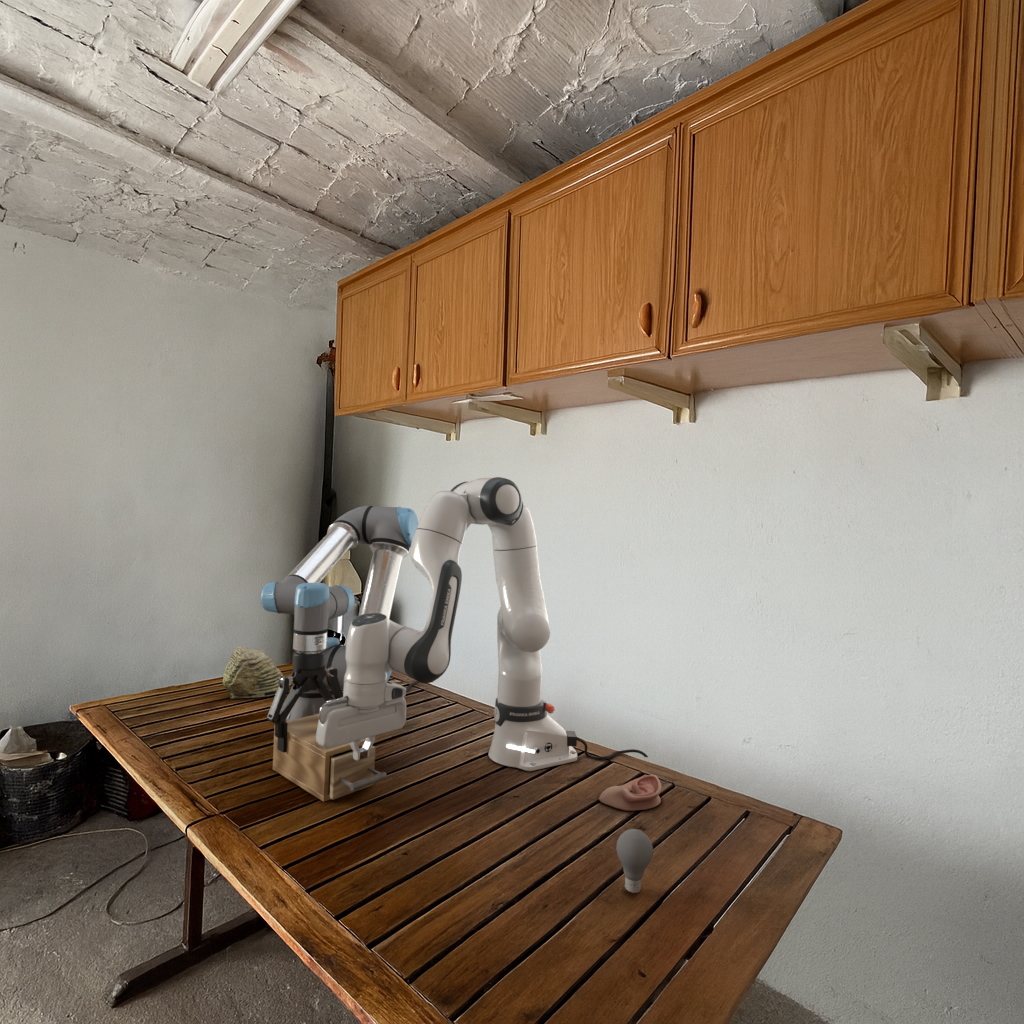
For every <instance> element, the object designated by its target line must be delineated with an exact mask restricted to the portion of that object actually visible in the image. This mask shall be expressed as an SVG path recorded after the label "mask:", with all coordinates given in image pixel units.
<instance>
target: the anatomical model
mask: <svg viewBox="0 0 1024 1024" xmlns="http://www.w3.org/2000/svg"><path fill="white" fill-rule="evenodd" d="M662 788H663V787H662V783H661V781H660V779H659V777H658V776H656V775H654V774H648V775H644V776H639V777H637V778H634V779H633V780H630V781H628V782H627V783H624V784H621V785H613V786H610V787H607V788H606V789H604V790H603V791H602V792H601V794H599V796H598V801H600V802H601V803H602V804H604V805H607V806H610V807H612V808H614V809H617V810H621V811H631V812H632V811H642V810H643V811H644V810H648V809H653V808H655V807H657V806H659V805H660V804H661V802H662V801H661V798H660V794H661V792H662V790H663V789H662Z"/></svg>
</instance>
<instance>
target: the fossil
mask: <svg viewBox="0 0 1024 1024" xmlns="http://www.w3.org/2000/svg"><path fill="white" fill-rule="evenodd" d="M222 676H223V677H222V685H223V687H224V688H225V690H226V691H228V693H229V698H230V699H250V698H264V697H271V696H275V694H276V691H277V689H278V686H279V677H280V676H284V674H283V673H282V672H281V669H279V668H278V667H277V665H276V663H275V662H274V660H273V659H272V658H271V657H270V656H269V655H268V654H267V653H266V652H265V650H264V649H263V648H260V647H258V648H251V647H247V646H246V647H245V646H238V647H237V648H236V649H235V650H233V651H232V653H231V656H230V657H229V659H228V660H227V663H226V666H225V668H224V671H223V675H222Z"/></svg>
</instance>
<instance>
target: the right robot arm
mask: <svg viewBox="0 0 1024 1024" xmlns="http://www.w3.org/2000/svg"><path fill="white" fill-rule="evenodd" d="M471 525H481V526H483V525H487V526H488V528H489V530H490V532H491V539H492V541H491V542H492V552H493V553H492V554H493V563H494V572H495V581H496V586H497V591H498V596H499V602H500V607H499V609H498V613H497V616H496V617H497V619H496V620H497V621H496V622H497V623H496V629H497V630H496V634H497V635H496V636H497V637H496V639H497V662H498V665H497V666H498V671H497V693H496V694H497V695H496V696H497V697H496V698H495V703H494V711H493V712H494V715H493V717H494V722H495V723H494V730H493V735H492V740H491V743H490V747H489V750H488V752H487V753H488V755H487V756H488V757H489V759H490V760H491V761H493V762H494V763H497V764H499V765H502V766H506V767H511V768H515V769H516V768H517V769H520V770H523V771H526V772H532V771H537V770H542V769H547V768H551V767H556V766H560V765H564V764H569V763H573V762H576V761H578V752H577V750H576V749H575V748H574V747H578V746H577V745H578V744H577V743H578V742H580V743H581V744H583V746H584V754H585V756H586V757H587V758H590V759H592V760H597V761H599V760H610V759H612V758H613V757H615V756H616V755H623V754H629V753H637V754H640V755H642V756H643V757H644V758H649V756H648V755H647V753H645V752H644V751H642V750H639V749H633V748H631V749H623V750H617V751H614V752H612V753H611V754H609V755H601V756H593V755H591V754H589V753H588V744H587V742H586V741H585V740H584V739H582V738H580V737H578V735H577V734H576V732H575V730H565V728H564V727H563V726H561V724H560V723H558V722H557V721H556V720H555V719H553V718H552V717H551V716H550V715H551V714H554V712H555V710H556V709H555V706H554V705H552V703H548V702H547V701H545V700H543V699H542V687H543V686H542V685H543V666H542V659H541V650H542V649H543V648H544V647H545V646H546V645H547V643H548V642H549V640H550V637H551V627H550V621H549V616H548V610H547V605H546V604H547V603H546V599H545V593H544V588H543V585H542V584H543V583H542V580H541V571H540V561H539V554H538V542H537V536H536V531H535V525H534V522H533V518H532V514H531V511H530V509H529V508H528V507H527V506H525V505H524V502H523V497H522V493H521V491H520V489H519V487H518V486H517V484H516V483H515V482H514V481H512V480H511V479H509V478H506V477H502V476H501V477H500V476H495V477H479V478H476V479H473V480H470V481H461V482H459V483H457V484H456V485H455V486H453V487H452V488H451V489H450V490H440V491H438V492H436V493H434V494H433V495H432V496H431V497H430V499H429V501H428V502H427V504H426V506H425V508H424V510H423V512H422V514H421V516H420V518H419V520H418V526H417V528H416V531H415V534H414V537H413V540H412V543H411V547H410V548H409V556H410V559H411V562H412V564H413V566H414V567H415V568H416V569H417V571H418V572H419V573H420V574H421V575H423V576H424V577H425V578H426V579H427V581H428V583H429V584H430V587H431V598H430V602H429V607H428V612H427V617H426V622H425V625H424V628H423V629H422V630H418V629H415V628H413V627H409V626H406V625H402V624H399V623H398V622H395V621H393V620H391V618H389V619H388V618H387V616H386V615H384V614H380V613H370V614H369V613H368V614H363V615H360V616H359V615H358V616H356V617H355V618H354V619H352V620H351V622H350V624H349V628H348V632H347V636H346V641H345V646H346V654H345V659H346V664H347V669H346V673H345V676H344V688H343V689H342V693H343V697H341V698H337V699H334V700H333V699H332V700H328V701H326V703H325V704H324V705H323V706H322V707H321V708H320V711H319V721H318V726H317V732H316V742H317V743H318V744H319V745H320V746H322V747H323V748H326V749H329V748H333V747H336V746H340V745H344V744H347V743H349V744H350V746H351V748H352V750H353V759H354V760H356V761H358V760H361V759H364V758H367V757H369V754H370V749H371V747H372V746H374V743H375V741H376V736H379V735H383V734H387V733H389V732H393V731H397V730H402V729H403V727H404V726H405V725H406V722H407V701H406V699H405V697H406V695H407V692H406V689H407V687H404V686H403V685H400V684H398V683H395V682H392V681H389V680H388V681H387V673H388V672H389V671H391V670H392V671H395V672H397V673H399V674H402V675H406V676H408V677H409V678H411V679H413V680H415V681H418V682H419V683H421V684H430V683H434V682H435V681H436V680H438V679H439V678H441V677H442V676H443V674H445V672H446V671H447V669H448V667H449V665H450V662H451V656H452V636H453V632H454V626H455V620H456V615H457V610H458V605H459V599H460V596H461V595H460V593H461V588H462V581H463V574H462V568H461V567H460V553H461V549H462V545H463V542H464V539H465V536H466V532H467V530H468V528H469V527H470V526H471ZM326 705H327V706H326ZM362 739H366V740H365V742H364V745H363V747H362V748H359V747H358V745H360V741H361V740H362Z"/></svg>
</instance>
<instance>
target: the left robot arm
mask: <svg viewBox="0 0 1024 1024" xmlns="http://www.w3.org/2000/svg"><path fill="white" fill-rule="evenodd" d="M418 523H419V518H418V516H417V513H416V512H415V511H414V510H413V508H409V507H401V506H379V505H362V506H359V507H355V508H353V509H351V510H349V511H347V512H345V513H344V514H342V515H341V516H339V517H338V518H336V520H334V521H333V522H332V523H331V524H330V525H329V526H328V528H327V532H326V535H325V536H323V538H322V539H321V540H320V541H319V542H318V543H316V545H315V546H314V547H313V548H312V549H311V550H310V551H309V553H307V555H306V556H304V558H302V560H301V561H300V562H299V563H298V564H297V565H296V566H295V567H294V568H293V569H292V570H291V572H289V573H288V574H287V576H286V577H285V578H284V579H283V580H282V581H280V582H279V581H275V582H272V581H271V582H268V583H266V584H265V585H264V586H263V588H262V589H261V594H260V603H261V607H262V608H263V609H264V610H265V611H267V612H270V613H277V614H279V615H280V614H285V615H294V616H293V617H294V618H293V619H294V620H293V638H292V650H293V653H292V665H291V666H292V672H291V675H288V676H284V675H283V676H280V677H279V686H278V689H277V691H276V694H275V695H274V697H273V699H272V701H271V705H270V707H269V710H268V712H267V715H266V720H267V721H269V722H270V723H273V724H274V725H275V736H276V737H278V745H277V749H278V750H280V751H281V752H283V753H284V752H287V726H288V723H287V721H291V720H295V719H299V718H303V717H307V716H311V715H315V714H319V711H320V708H321V707H322V706H323V705H324V704H325V703H326V701H328V700H332V699H333V700H334V699H337V698H341V697H343V688H344V676H345V673H346V669H347V664H346V659H345V654H346V645H344V644H343V645H342V644H340V643H341V641H340V639H339V638H338V637H334V636H333V637H328V632H329V631H328V627H329V620H332V619H336V618H339V617H343V616H344V615H346V614H348V613H350V612H351V610H353V608H354V606H355V602H356V600H355V594H354V592H353V590H352V589H351V588H350V587H348V586H347V585H343V584H340V585H338V584H335V585H332V586H329V585H328V584H327V583H325V582H322V581H323V580H324V579H325V578H326V577H327V575H329V573H330V572H331V571H332V569H334V567H335V566H336V565H337V564H338V562H339V561H340V560H341V559H342V558H343V557H344V556H345V555H346V554H347V553H348V552H349V551H352V550H354V549H355V548H357V546H358V545H368V548H369V549H370V551H371V552H372V556H371V560H370V565H369V567H368V568H369V569H368V573H367V577H366V582H365V586H364V590H363V595H362V599H361V603H360V608H359V612H358V616H360V615H363V614H368V613H369V614H370V613H380V614H384V615H386V616H387V618H388V619H391V612H392V608H393V603H394V598H395V594H396V588H397V584H398V580H399V575H400V570H401V565H402V560H403V559H404V558H406V557H407V556H409V554H410V549H411V543H412V540H413V537H414V534H415V531H416V528H417V526H418ZM392 672H393V670H391V671H389V672H388V673H387V681H389V680H390V677H391V675H392ZM292 683H293V684H292ZM419 683H420V682H418V681H417V680H415V681H414V682H412V683H410V684H408V686H407V687H406V693H407V692H409V690H410V689H411V687H413V686H415V685H418V684H419ZM288 692H289V693H288ZM326 706H327V705H326Z"/></svg>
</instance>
